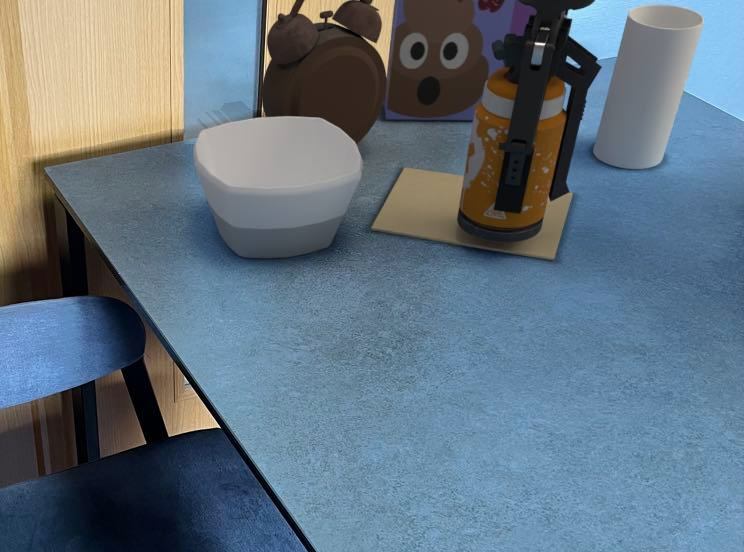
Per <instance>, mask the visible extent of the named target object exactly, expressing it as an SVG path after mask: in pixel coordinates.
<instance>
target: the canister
mask: <svg viewBox="0 0 744 552" xmlns="http://www.w3.org/2000/svg"><path fill="white" fill-rule="evenodd" d="M523 47H524V43H523V36H517V35H516V34H506V35H505V38H504V44H503V42H502V40H496V41H495V42H492V50H493V54H494V57H495V58H496V59H497V60H503V62H504V66H505V67H504V68H501V69H498V70H496V71H495V72H493V73H492V74H491V75H490V76H489V78H488V80H487V81H486V82H485V86H484V92H483V97H482V101H480V102H479V103H478V104H477V105H476V107H475V111H474V118H473V122H472V125H471V131H470V137H469V143H468V149H467V155H466V162H465V166H464V175H463V176H464V179H463V185H462V191H461V198H460V206H459V210H458V216H457V222H458V224H459V226H460V227H461V228H462V229H463V230H464V231H465V232H466V233H468V234H470V235H472V236H474V237H477V238H480V239H483V240H487V241H491V242H501V243H510V242H519V241H524V240H527V239H530V238H532V237H534V236H536V235H537V234H538V233H539V232H540V230H541V227H542V223H543V218H544V214H545V210H546V205H547V201H548V196H549V199H550V202H551V201H553V200H555V199H557V198H559V197H561V196H563V195H565V194H567V193H569V192H570V189H569V186H568V182H567V180H568V176H569V172H570V168H571V164H572V159H573V155H574V150H575V146H576V142H577V138H578V133H579V129H580V125H581V122H582V121H583V119H584V118H583V117H584V113H585V108H586V104H587V96H588V91H589V89H590V88H591V86H592V84H593V82H594V81H595V79H596V77H597V76H598V75H599V73H600V71H601V69H602V68H603V67H602V65H600V64H599V63H598V59H599V58H598V57H597V56H596V55H595V54H593V53H592V52H590V51H589V50H588V49H587V48H585V47H584V46H583V45H582V44H581V43H579V42H578V41H576V40H575V39H574V38H573V37H571V36H570V34H569V35H568V38H567V40H566V44H565V47H564V48H563V49H562V50H561V54H560V58H559V62H558V66H557V71H556V74H555V76H554V77H553V78H551V79H549V81H548V85H547V90H546V94H545V98H544V102H543V107H542V111H541V115H540V119H539V124H538V128H537V132H536V136H535V140H534V145H535V147H534V154H533V159H532V163H531V168H530V173H529V177H528V182H527V187H526V192H525V196H524V201H523V206H522V210H521V213H520V214H517V213H510V212H504V211H497V210H494V205H495V200H496V195H497V190H498V184H499V179H500V174H501V169H502V164H503V158H504V153H505V151H504V150H499V149H498V146H499V142H500V143H505V142H506V140H507V135H508V130H509V125H510V120H511V116H512V111H513V106H514V101H515V97H516V92H517V87H518V82H519V77H520V72H519V65H520V60H521V56H522V51H523ZM555 49H556V48H555ZM567 58H570V59H571V60H572V61H573V62H575V63H576V64H577V65H578V66H580V67H577V66H575V65H573V64H572V63H570V62H568V61H567ZM552 61H553V60H552ZM551 65H552V62H551ZM551 65H550V66H551ZM566 85H568V86H570V89H569V95H568V99H567V104H566V107H565V108H564V104H565V99H566V94H567V86H566Z"/></svg>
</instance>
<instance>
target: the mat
mask: <svg viewBox="0 0 744 552" xmlns="http://www.w3.org/2000/svg"><path fill="white" fill-rule="evenodd" d="M463 179H464V175H461V174H455V173H448V172H447V173H446V172H440V171H433V170H427V169H419V168H413V167H407V166H404V167H403V169H402V171H401V173H400V175H399V176H398V178H397V180H396V182H395V183H394V185H393V187H392V189H391V190H390V192H389V195H388V196H387V198H386V200H385V201H384V203H383V205H382V207H381V209H380V211H379V212H378V214H377V216H376V218H375V219H374V222H373V223H372V225H371V227H370V231H374V232H380V233H386V234H392V235H398V236H403V237H409V238H416V239H423V240H426V241H427V240H428V241H434V242H440V243H445V244H451V245H458V246H463V247H469V248H476V249H480V250H487V251H493V252H498V253H499V252H500V253H506V254H512V255H517V256H523V257H528V258H536V259H540V260H541V259H542V260H548V261H555V258H556V254H557V251H558V248H559V245H560V240H561V237H562V234H563V230H564V228H565V227H564V226H565V223H566V220H567V216H568V213H569V209H570V207H571V206H570V205H571V202H572V198H573V195H574V192H573V191H569V193H567V194H565V195H563V196H561V197H559V198H557V199H555V200H553V201H551V202H550V199H549V196H548V201H547V205H546V210H545V214H544V218H543V223H542V227H541V230H540V232H539V233H538V234H537V235H536V236H534V237H532V238H530V239H527V240H524V241H519V242H510V243H501V242H491V241H487V240H483V239H480V238H477V237H474V236H472V235H470V234H468V233H466V232H465V231H464V230H463V229H462V228H461V227H460V226H459V224H458V222H457V216H458V210H459V206H460V198H461V191H462V185H463Z"/></svg>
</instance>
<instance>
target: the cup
mask: <svg viewBox="0 0 744 552" xmlns="http://www.w3.org/2000/svg"><path fill="white" fill-rule="evenodd" d="M704 26H705V17H704V16H703V15H702V14H701V13H699V12H697V11H696V10H693V9H690V8H688V7H684V6H678V5H672V4H661V3H660V4H656V3H655V4H645V5H639V6H635V7H633V8H631V9H630V10H629V11H628V14H627V16H626V19H625V24H624V28H623V32H622V36H621V40H620V43H619V47H618V51H617V54H616V55H617V56H616V60H615V63H614V67H613V71H612V75H611V78H610V83H609V87H608V89H607V95H606V99H605V102H604V106H603V110H602V113H601V117H600V122H599V126H598V130H597V133H596V138H595V141H594V145H593V149H592V152H593V155H594V157H596V158H597V160H599V161H601V162H603V163H605V164H607V165H609V166H613V167H615V168H621V169H628V170H644V169H650V168H653V167H656V166H659V164H660V163H662V161H663V159H664V156H665V152H666V149H667V146H668V143H669V139H670V136H671V133H672V130H673V126H674V123H675V120H676V116H677V113H678V111H679V106H680V103H681V100H682V97H683V95H684V90H685V87H686V83H687V80H688V77H689V74H690V71H691V68H692V63H693V61H694V58H695V55H696V51H697V47H698V44H699V42H700V38H701V34H702V31H703V28H704Z"/></svg>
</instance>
